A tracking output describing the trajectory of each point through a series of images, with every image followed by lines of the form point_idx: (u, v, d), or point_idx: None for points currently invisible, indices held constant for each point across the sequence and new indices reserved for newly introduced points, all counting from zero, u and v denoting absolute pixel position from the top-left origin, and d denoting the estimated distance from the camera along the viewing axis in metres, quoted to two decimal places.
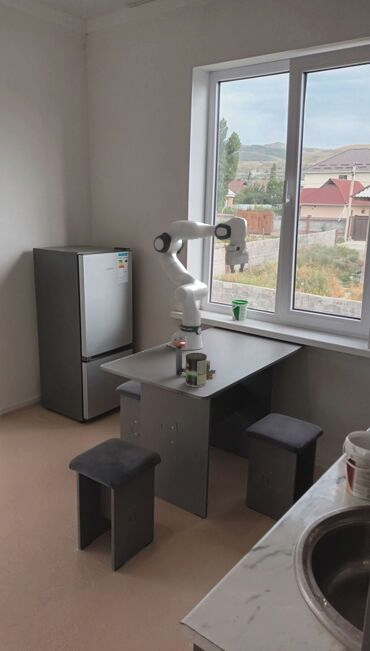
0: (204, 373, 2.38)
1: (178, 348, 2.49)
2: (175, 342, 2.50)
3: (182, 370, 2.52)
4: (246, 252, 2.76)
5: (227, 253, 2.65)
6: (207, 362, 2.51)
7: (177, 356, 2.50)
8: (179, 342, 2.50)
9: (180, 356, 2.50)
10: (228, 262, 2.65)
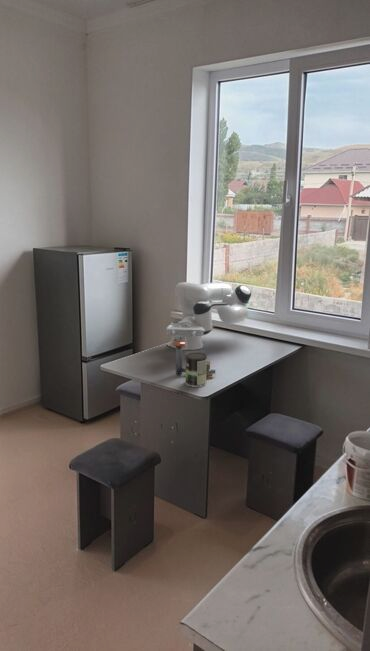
0: (204, 373, 2.38)
1: (178, 348, 2.49)
2: (175, 342, 2.50)
3: (182, 370, 2.52)
4: (198, 326, 2.70)
5: None
6: (207, 362, 2.51)
7: (177, 356, 2.50)
8: (179, 342, 2.50)
9: (180, 356, 2.50)
10: None
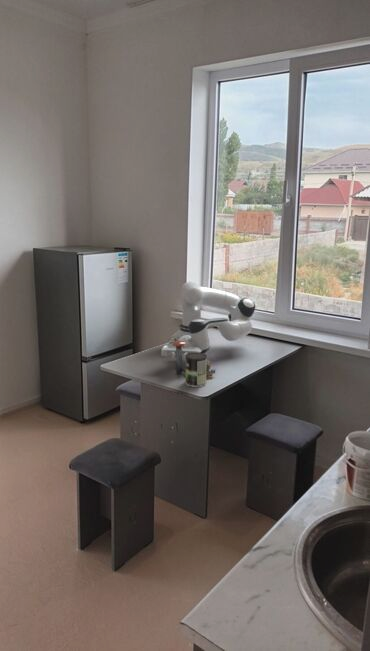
0: (204, 373, 2.38)
1: (178, 348, 2.49)
2: (175, 342, 2.50)
3: (182, 370, 2.52)
4: (194, 347, 2.60)
5: None
6: (207, 362, 2.51)
7: (177, 356, 2.50)
8: (179, 342, 2.50)
9: (180, 356, 2.50)
10: None
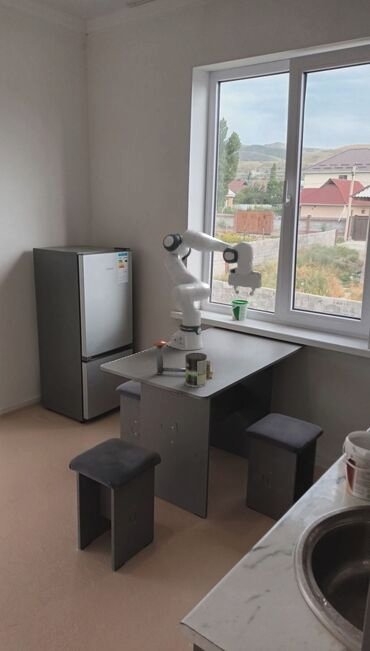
0: (204, 373, 2.38)
1: (159, 347, 2.50)
2: (156, 341, 2.51)
3: (163, 369, 2.54)
4: (253, 277, 2.78)
5: None
6: (207, 362, 2.51)
7: (158, 355, 2.52)
8: (160, 341, 2.51)
9: (161, 355, 2.52)
10: None
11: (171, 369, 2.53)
